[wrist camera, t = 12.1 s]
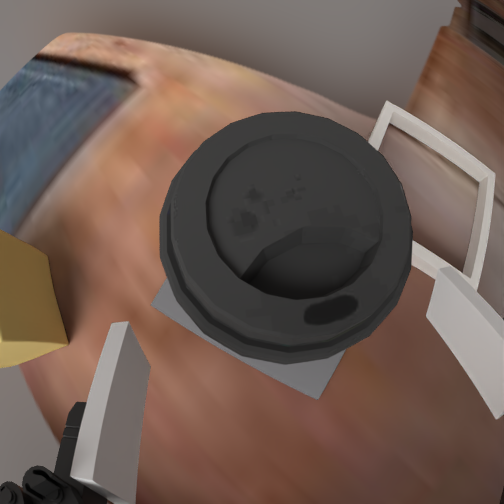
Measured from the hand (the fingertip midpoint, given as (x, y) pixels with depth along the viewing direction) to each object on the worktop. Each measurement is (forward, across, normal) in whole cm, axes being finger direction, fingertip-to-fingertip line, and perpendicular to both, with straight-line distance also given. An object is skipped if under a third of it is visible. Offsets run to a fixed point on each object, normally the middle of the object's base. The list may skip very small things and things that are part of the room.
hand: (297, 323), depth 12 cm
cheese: (+12, -25, -7) cm, 29 cm away
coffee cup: (+12, 0, -6) cm, 14 cm away
